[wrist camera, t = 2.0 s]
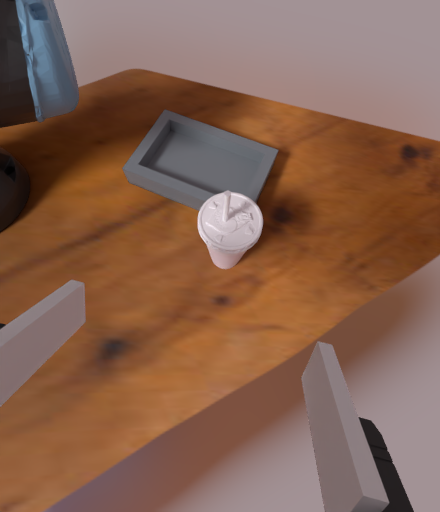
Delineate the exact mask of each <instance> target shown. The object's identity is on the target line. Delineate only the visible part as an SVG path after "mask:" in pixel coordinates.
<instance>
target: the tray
mask: <svg viewBox="0 0 440 512" xmlns="http://www.w3.org/2000/svg"><path fill="white" fill-rule="evenodd" d="M277 153H278V150H277V149H274V148H272V147H269V146H266V145H263V144H260V143H258V142H255V141H252V140H249V139H246V138H244V137H241V136H238V135H235V134H232V133H230V132H227V131H224V130H221V129H218V128H216V127H213V126H210V125H207V124H204V123H202V122H199V121H196V120H193V119H190V118H188V117H185V116H182V115H179V114H176V113H174V112H171V111H168V110H164V111H163V113H162V114H161V115H160V117H159V118H158V120H157V121H156V122H155V124H154V125H153V127H152V128H151V129H150V131H149V132H148V133H147V135H146V136H145V138H144V139H143V140H142V142H141V143H140V145H139V146H138V147H137V149H136V150H135V152H134V153H133V154H132V156H131V157H130V159H129V160H128V161H127V163H126V164H125V166H124V167H123V168H122V169H123V171H124V173H125V175H126V177H127V179H128V182H129V183H131V184H134V185H136V186H139V187H141V188H144V189H146V190H149V191H151V192H154V193H156V194H159V195H161V196H164V197H166V198H169V199H171V200H174V201H176V202H179V203H181V204H184V205H186V206H189V207H191V208H194V209H196V210H199V211H200V209H201V207H202V205H203V204H204V203H205V202H206V201H207V200H208V199H209V198H211V197H212V196H214V195H216V194H219V193H224V192H225V191H230V192H235V193H240V194H243V195H245V196H247V197H249V198H250V199H252V200H253V201H254V202H255V203H257V201H258V198H259V196H260V194H261V192H262V190H263V187H264V185H265V183H266V181H267V178H268V176H269V174H270V172H271V170H272V167H273V165H274V162H275V159H276V156H277Z"/></svg>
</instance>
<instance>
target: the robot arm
mask: <svg viewBox="0 0 440 512" xmlns="http://www.w3.org/2000/svg"><path fill="white" fill-rule="evenodd" d="M78 101H79V90H78V84H77V80H76V75H75V71H74V67H73V64H72V60H71V56H70V52H69V49H68V45H67V42H66V38H65V35H64V32H63V28H62V25H61V22H60V19H59V16H58V12H57V9H56V6H55V3H54V0H0V128H2V127H8V126H13V125H18V124H24V123H29V122H35V121H38V122H43V121H44V119H46V118H50V117H54V116H58V115H62V114H66V113H70V112H71V111H73V110H74V109H75V108H76V106H77V104H78ZM29 192H30V180H29V176H28V173H27V171H26V170H25V168H24V167H23V166H22V165H21V164H20V163H19V162H18V161H17V160H16V159H15V158H14V157H13V156H12V155H11V154H10V153H9V152H8V151H6V150H5V149H3V148H2V147H0V231H2V230H3V229H5V228H6V227H7V226H8V225H9V224H11V223H12V222H13V221H14V220H15V218H16V217H17V216H18V215H19V214H20V212H21V211H22V209H23V208H24V206H25V204H26V202H27V199H28V196H29ZM84 323H85V291H84V283H82V282H78V281H74V280H70V281H69V282H67V283H66V284H65V285H63V286H62V287H60V288H59V289H57V290H56V291H55V292H53V293H52V294H50V295H49V296H47V297H46V298H44V299H43V300H42V301H40V302H39V303H37V304H36V305H34V306H33V307H32V308H30V309H29V310H27V311H26V312H24V313H23V314H22V315H20V316H19V317H17V318H16V319H14V320H13V321H11V322H10V323H9V324H7V325H5V324H1V323H0V406H1V405H2V404H4V403H5V402H6V401H7V400H8V399H9V398H10V397H11V396H12V395H13V394H14V393H15V392H16V391H17V390H18V389H19V388H20V387H21V386H22V385H23V384H24V383H25V382H26V381H27V380H28V379H29V378H30V377H31V376H32V375H33V374H34V373H35V372H36V371H37V370H38V369H39V368H40V367H41V366H42V365H43V364H44V363H45V362H46V361H47V360H48V359H49V358H50V357H51V356H52V355H53V354H54V353H55V352H56V351H57V350H58V349H59V348H60V347H61V346H62V345H63V344H64V343H65V342H66V341H67V340H68V339H69V338H70V337H71V336H72V335H73V334H74V333H75V332H76V331H77V330H78V329H79V328H80V327H81V326H82V325H83V324H84ZM301 379H302V385H303V390H304V396H305V402H306V407H307V413H308V419H309V424H310V430H311V436H312V441H313V447H314V452H315V458H316V464H317V470H318V475H319V481H320V486H321V492H322V498H323V504H324V509H325V512H414V511H413V508H412V506H411V504H410V501H409V499H408V497H407V494H406V492H405V489H404V487H403V485H402V483H401V480H400V478H399V475H398V473H397V470H396V468H395V466H394V464H393V463H392V462H393V461H392V459H391V456H390V454H389V452H388V451H387V447H386V444H385V442H384V440H383V437H382V435H381V434H380V432H379V431H378V429H377V428H376V427H375V425H374V424H373V423H372V421H370V420H367V419H363V418H360V417H358V415H357V412H356V409H355V407H354V404H353V401H352V399H351V396H350V393H349V390H348V388H347V385H346V382H345V379H344V376H343V374H342V371H341V369H340V365H339V362H338V360H337V357H336V355H335V351H334V349H333V346H332V345H331V344H327V343H323V342H319V341H318V342H317V344H316V347H315V349H314V351H313V353H312V355H311V357H310V359H309V362H308V364H307V366H306V368H305V371H304V373H303V375H302V377H301Z"/></svg>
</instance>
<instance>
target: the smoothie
mask: <svg viewBox="0 0 440 512" xmlns="http://www.w3.org/2000/svg"><path fill="white" fill-rule="evenodd" d="M262 227H263V216H262V213H261V211H260V209H259V207H258V206H257V204H256V203H255V202H254V201H253V200H252V199H250V198H249V197H247V196H245V195H243V194H240V193H235V192H230V191H225V192H224V193H219V194H216V195H214V196H212V197H211V198H209V199H208V200H207V201H206V202H205V203H204V204H203V205H202V207H201V209H200V211H199V214H198V230H199V233H200V236H201V238H202V239H203V241H204V242H205V243H206V244H207V247H208V250H209V253H210V256H211V258H212V261H213V263H214V264H215V265H216V266H217V267H219V268H222V269H229V268H232V267H234V266H235V265H236V264H237V263H238V261H239V260H240V259H241V257H242V256H243V255H244V253H245V252H246V250H248V249H249V248H251V247H252V246H253V245H254V244H255V243H256V242H257V241H258V239H259V237H260V235H261V232H262Z"/></svg>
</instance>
